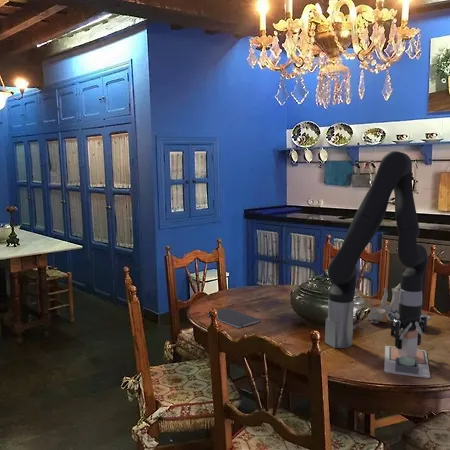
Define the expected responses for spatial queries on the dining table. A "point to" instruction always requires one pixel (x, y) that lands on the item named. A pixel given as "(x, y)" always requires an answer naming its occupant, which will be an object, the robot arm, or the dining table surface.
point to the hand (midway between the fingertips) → (407, 346)
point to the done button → (407, 361)
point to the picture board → (394, 367)
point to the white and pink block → (409, 344)
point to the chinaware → (389, 308)
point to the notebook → (235, 318)
